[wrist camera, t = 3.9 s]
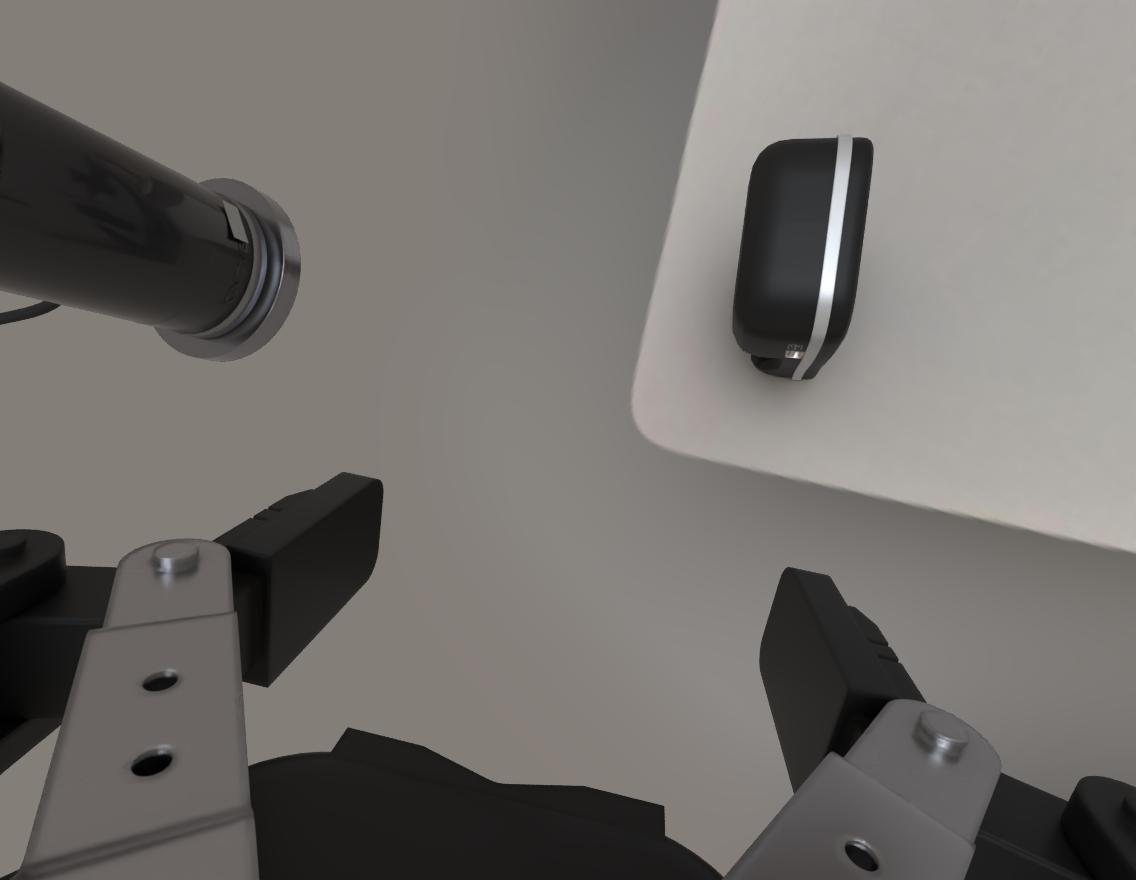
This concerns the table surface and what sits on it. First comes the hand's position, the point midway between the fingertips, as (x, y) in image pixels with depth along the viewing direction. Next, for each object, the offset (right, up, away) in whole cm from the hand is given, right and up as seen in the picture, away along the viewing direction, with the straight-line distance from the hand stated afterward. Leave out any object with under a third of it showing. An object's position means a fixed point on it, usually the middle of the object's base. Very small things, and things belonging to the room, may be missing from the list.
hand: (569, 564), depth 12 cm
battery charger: (+11, +9, +18) cm, 23 cm away
